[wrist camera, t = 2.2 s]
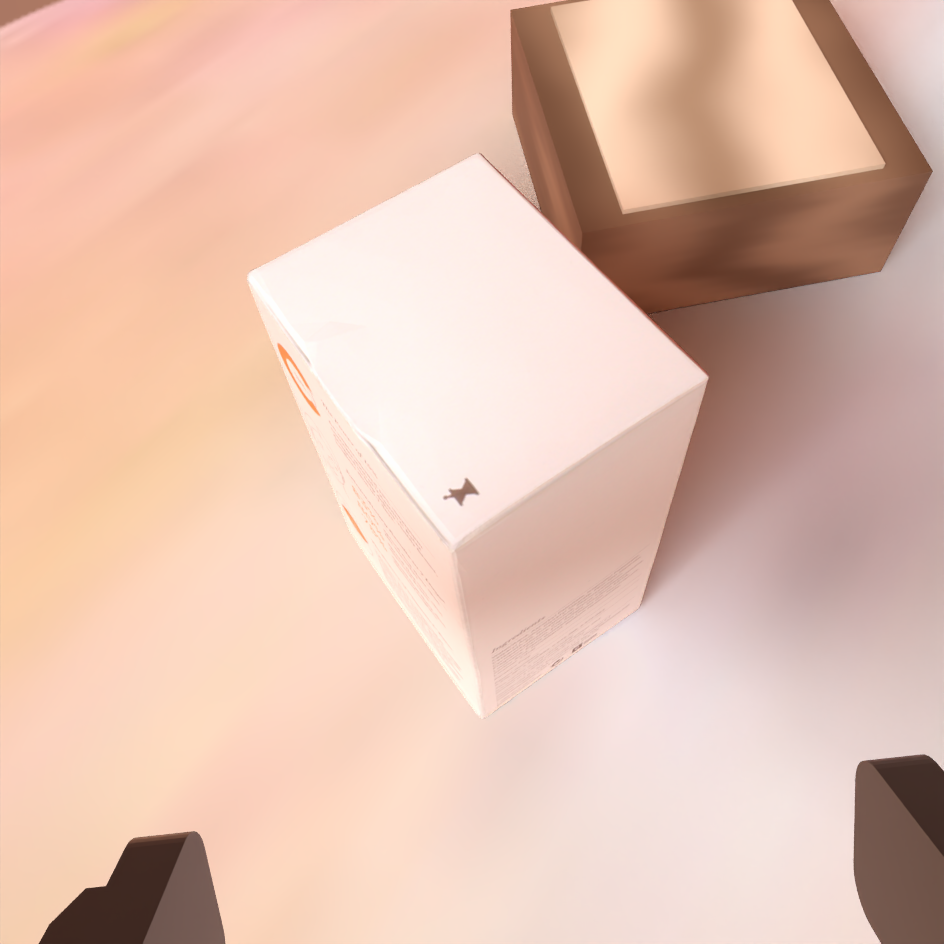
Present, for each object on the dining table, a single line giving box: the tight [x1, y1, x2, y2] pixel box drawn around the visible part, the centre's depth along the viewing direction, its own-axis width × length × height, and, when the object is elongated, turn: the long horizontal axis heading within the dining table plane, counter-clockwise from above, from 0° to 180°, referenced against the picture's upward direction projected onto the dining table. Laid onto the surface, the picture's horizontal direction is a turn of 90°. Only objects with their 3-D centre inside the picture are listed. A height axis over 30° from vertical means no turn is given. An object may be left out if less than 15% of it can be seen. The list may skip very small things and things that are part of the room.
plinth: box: [511, 0, 933, 314], centre depth 34 cm, size 12×12×5 cm
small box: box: [247, 154, 709, 719], centre depth 23 cm, size 8×6×13 cm
